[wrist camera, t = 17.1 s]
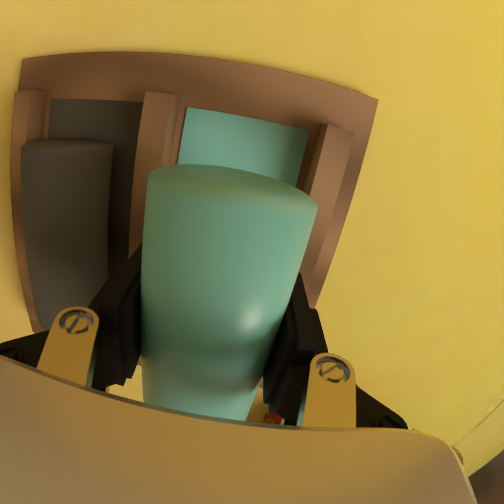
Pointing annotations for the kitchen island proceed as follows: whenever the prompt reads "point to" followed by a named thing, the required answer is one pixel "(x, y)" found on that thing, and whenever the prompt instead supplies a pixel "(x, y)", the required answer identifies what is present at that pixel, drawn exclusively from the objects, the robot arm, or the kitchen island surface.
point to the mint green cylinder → (216, 283)
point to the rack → (194, 136)
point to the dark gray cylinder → (65, 221)
